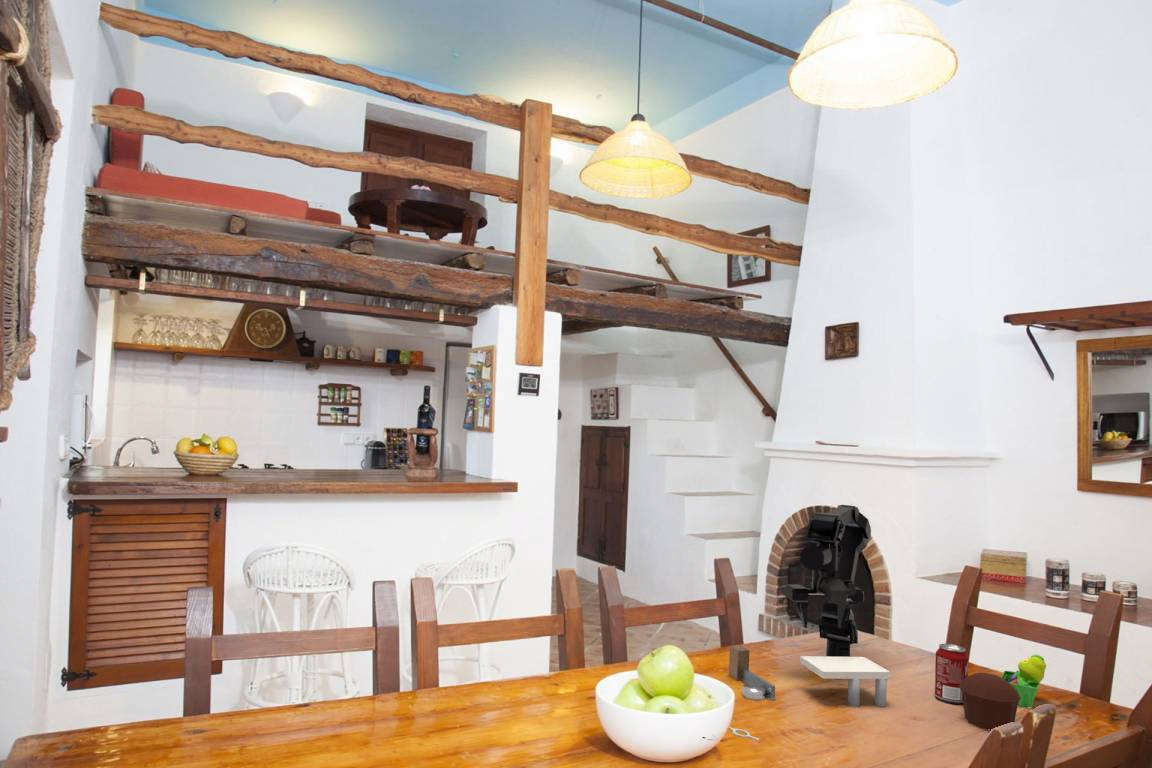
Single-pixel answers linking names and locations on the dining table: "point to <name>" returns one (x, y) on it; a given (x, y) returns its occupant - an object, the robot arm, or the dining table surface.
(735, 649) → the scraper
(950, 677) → the soda can
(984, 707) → the muffin
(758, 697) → the token
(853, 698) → the low stand
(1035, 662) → the green toy figure
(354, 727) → the dining table surface
